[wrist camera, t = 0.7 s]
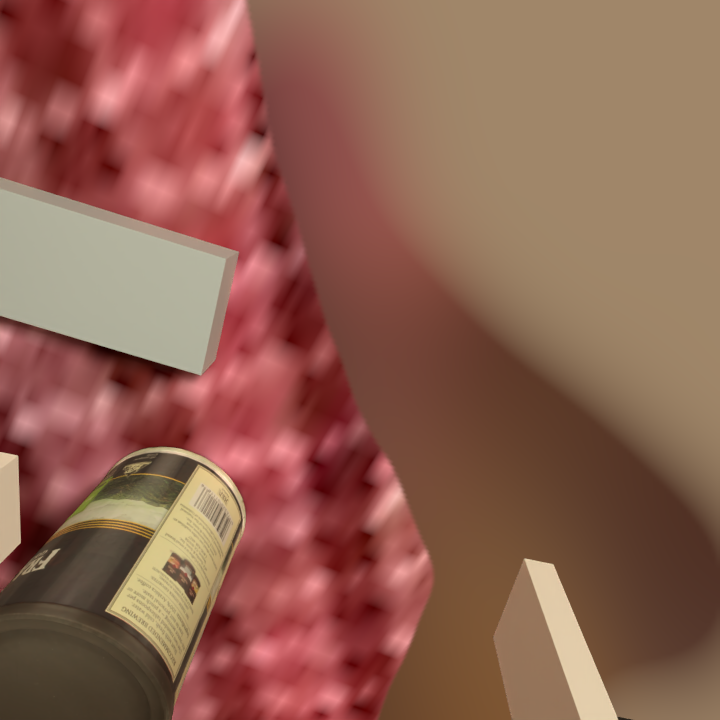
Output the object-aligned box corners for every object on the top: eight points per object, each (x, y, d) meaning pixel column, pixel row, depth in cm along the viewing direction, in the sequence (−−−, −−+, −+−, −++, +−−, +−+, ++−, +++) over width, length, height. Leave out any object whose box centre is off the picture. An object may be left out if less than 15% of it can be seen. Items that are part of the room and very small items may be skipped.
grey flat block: (-4, 291, 32) (-42, 303, 29) (3, 176, 30) (-38, 176, 27) (217, 358, 33) (201, 375, 30) (241, 250, 30) (226, 258, 28)
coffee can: (78, 523, 37) (-91, 718, 24) (140, 418, 34) (-16, 575, 21) (204, 591, 39) (110, 809, 26) (274, 496, 36) (209, 689, 22)
